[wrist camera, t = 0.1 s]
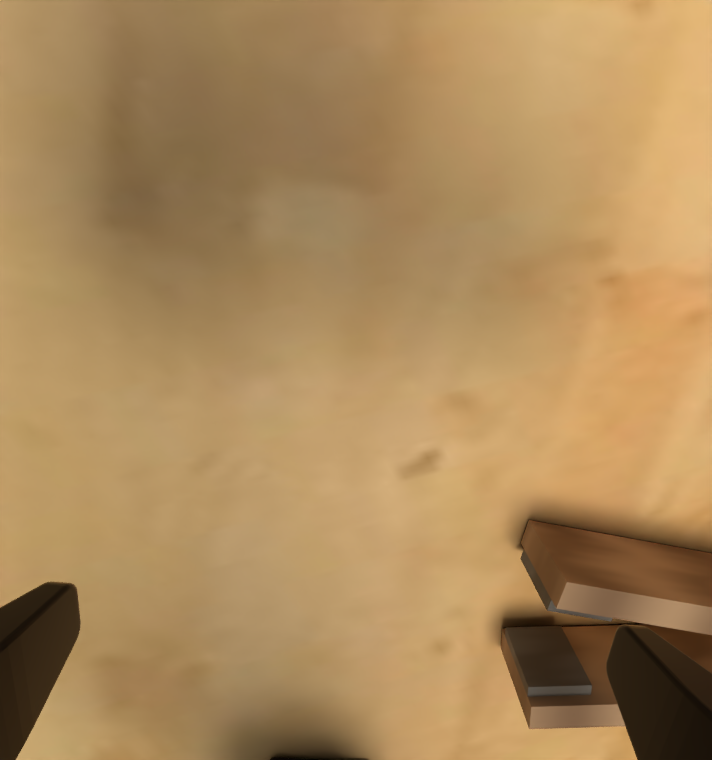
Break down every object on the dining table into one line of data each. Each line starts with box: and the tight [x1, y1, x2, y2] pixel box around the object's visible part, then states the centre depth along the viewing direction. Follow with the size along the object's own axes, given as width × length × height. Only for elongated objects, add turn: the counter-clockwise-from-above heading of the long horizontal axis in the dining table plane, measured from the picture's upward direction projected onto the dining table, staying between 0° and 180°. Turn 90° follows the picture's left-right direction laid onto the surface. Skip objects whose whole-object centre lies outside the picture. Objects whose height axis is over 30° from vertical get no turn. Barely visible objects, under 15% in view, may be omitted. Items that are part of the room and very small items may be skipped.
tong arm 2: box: [521, 520, 712, 635], centre depth 22 cm, size 16×2×4 cm, turn 79°
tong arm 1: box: [501, 624, 712, 729], centre depth 24 cm, size 16×2×4 cm, turn 93°
